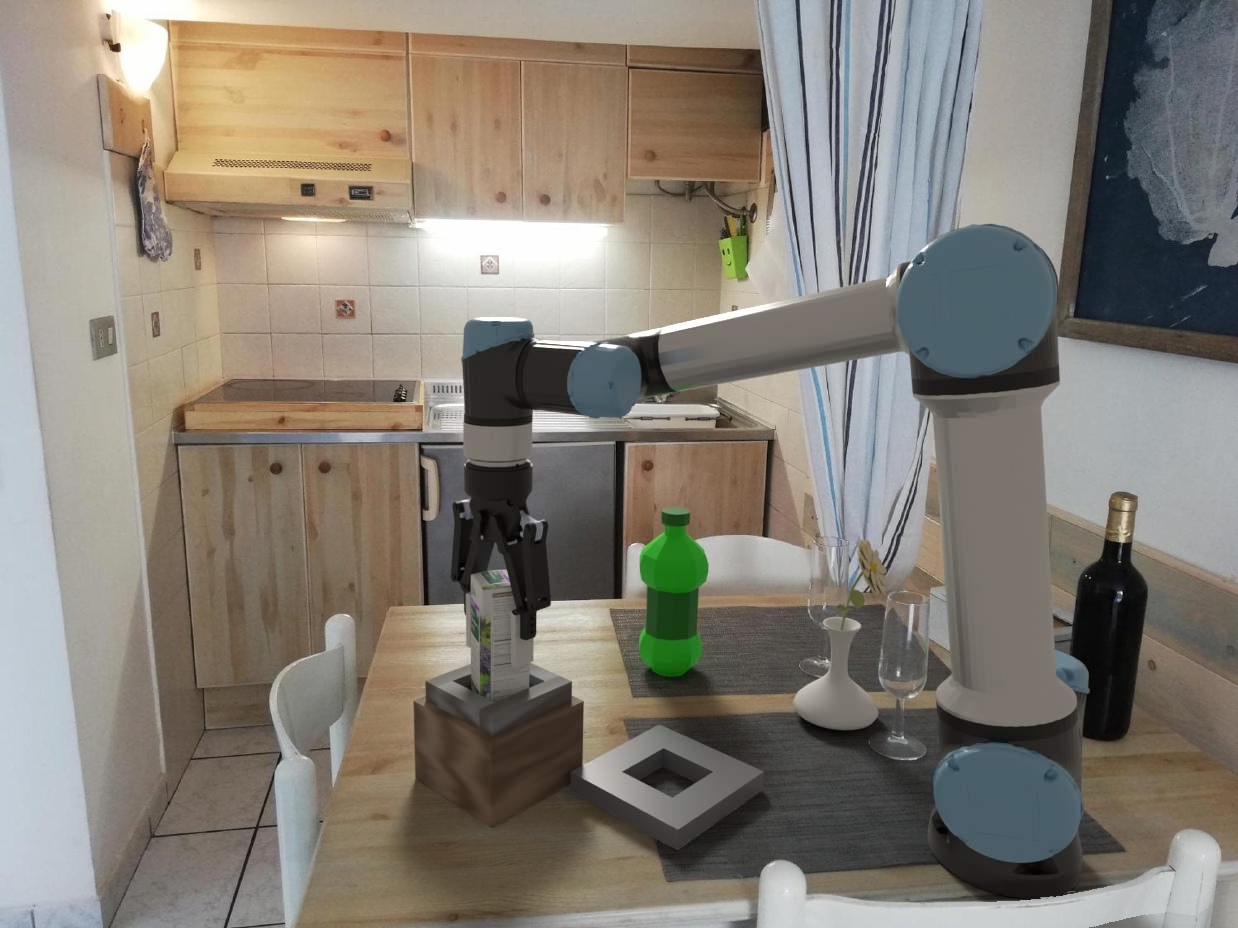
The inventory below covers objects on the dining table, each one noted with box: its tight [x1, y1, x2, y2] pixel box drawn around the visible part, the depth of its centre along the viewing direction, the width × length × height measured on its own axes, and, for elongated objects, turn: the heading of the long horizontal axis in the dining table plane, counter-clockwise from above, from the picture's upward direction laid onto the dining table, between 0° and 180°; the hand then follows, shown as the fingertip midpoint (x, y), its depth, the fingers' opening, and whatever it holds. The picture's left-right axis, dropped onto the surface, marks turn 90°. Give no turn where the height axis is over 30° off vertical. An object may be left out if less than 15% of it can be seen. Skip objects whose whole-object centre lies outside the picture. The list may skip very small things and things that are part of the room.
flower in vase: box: [792, 539, 890, 731], centre depth 126 cm, size 13×11×25 cm
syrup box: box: [470, 569, 531, 702], centre depth 107 cm, size 6×6×14 cm
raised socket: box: [413, 662, 585, 828], centre depth 110 cm, size 14×14×12 cm
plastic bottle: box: [638, 506, 710, 678], centre depth 139 cm, size 10×10×25 cm
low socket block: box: [569, 724, 765, 850], centre depth 109 cm, size 16×16×2 cm
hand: (499, 652), depth 108 cm, fingers closed on syrup box, 7 cm apart
